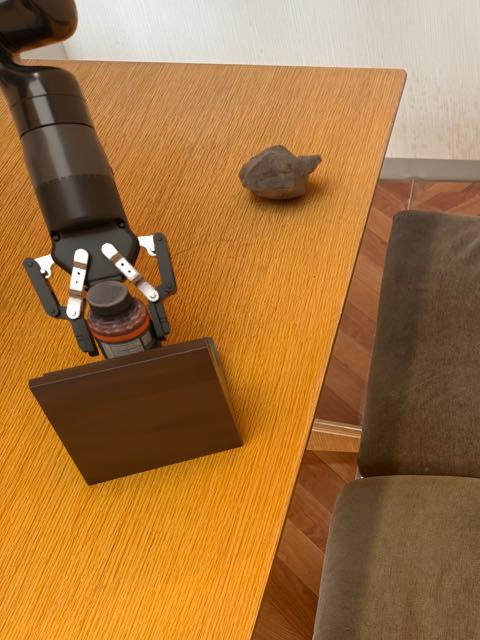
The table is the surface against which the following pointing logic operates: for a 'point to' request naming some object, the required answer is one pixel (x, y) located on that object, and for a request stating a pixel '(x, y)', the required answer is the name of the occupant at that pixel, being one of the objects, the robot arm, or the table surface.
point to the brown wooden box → (140, 409)
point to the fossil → (278, 173)
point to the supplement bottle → (119, 321)
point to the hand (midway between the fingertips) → (129, 347)
